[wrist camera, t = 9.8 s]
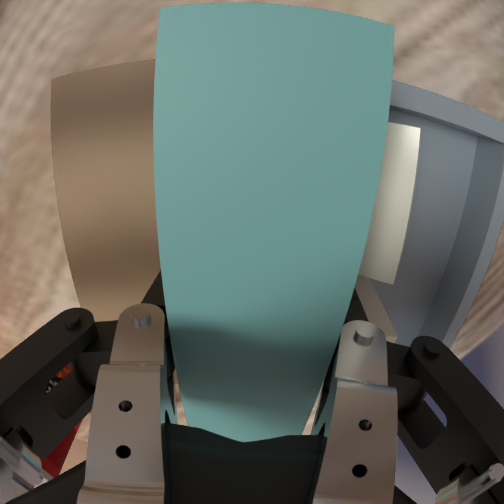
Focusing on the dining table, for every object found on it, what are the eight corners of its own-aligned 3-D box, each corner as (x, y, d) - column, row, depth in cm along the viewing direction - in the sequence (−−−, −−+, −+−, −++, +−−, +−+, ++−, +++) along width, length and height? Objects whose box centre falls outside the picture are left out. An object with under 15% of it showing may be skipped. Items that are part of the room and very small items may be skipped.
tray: (294, 73, 11) (302, 63, 9) (486, 123, 11) (520, 130, 9) (266, 350, 19) (265, 386, 16) (416, 351, 18) (429, 381, 16)
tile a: (337, 115, 8) (420, 128, 7) (368, 120, 12) (422, 129, 11) (324, 265, 10) (393, 284, 9) (358, 222, 14) (406, 234, 13)
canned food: (87, 363, 21) (34, 468, 11) (100, 410, 25) (65, 495, 15) (22, 334, 21) (-37, 417, 11) (42, 384, 24) (1, 457, 14)
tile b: (342, 333, 11) (397, 336, 11) (323, 268, 15) (367, 274, 15) (309, 407, 13) (356, 407, 13) (302, 339, 17) (341, 342, 17)
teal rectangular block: (211, 51, 8) (160, 7, 4) (335, 60, 8) (394, 26, 4) (211, 387, 15) (198, 465, 11) (283, 393, 15) (283, 472, 11)
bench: (93, 80, 12) (51, 79, 9) (294, 73, 11) (303, 60, 8) (121, 332, 19) (102, 368, 16) (266, 350, 19) (265, 393, 15)
